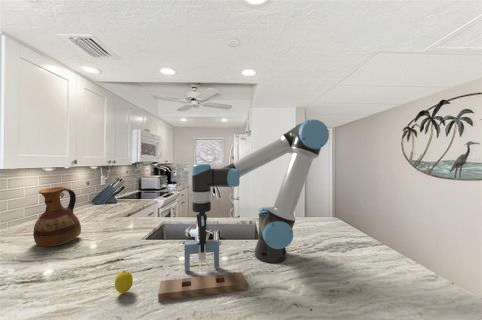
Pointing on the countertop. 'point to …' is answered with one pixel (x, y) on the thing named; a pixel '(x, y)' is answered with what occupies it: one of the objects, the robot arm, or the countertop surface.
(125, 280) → the lemon
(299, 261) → the countertop surface
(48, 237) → the ceramic pitcher
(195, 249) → the clip
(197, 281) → the rail
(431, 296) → the countertop surface
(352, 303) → the countertop surface
